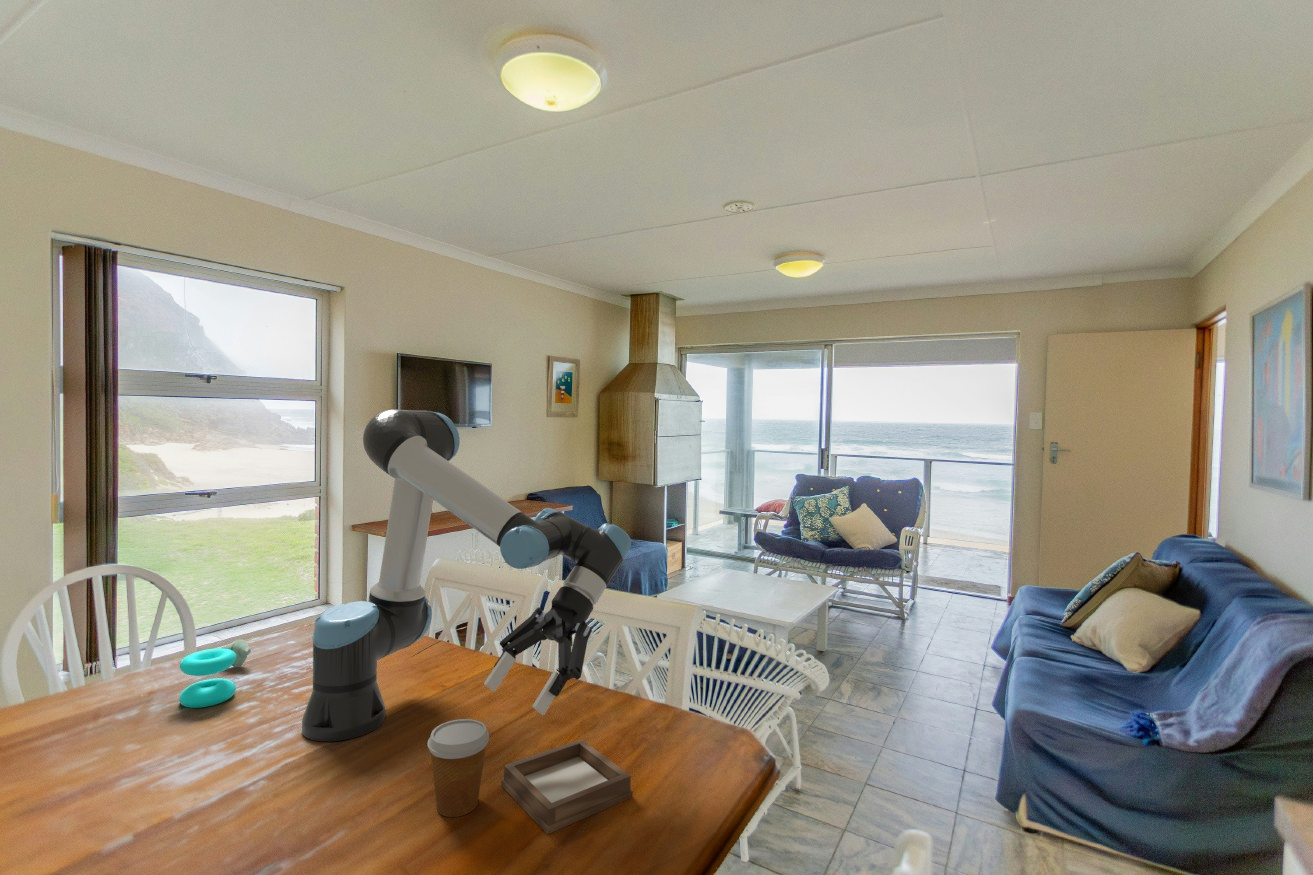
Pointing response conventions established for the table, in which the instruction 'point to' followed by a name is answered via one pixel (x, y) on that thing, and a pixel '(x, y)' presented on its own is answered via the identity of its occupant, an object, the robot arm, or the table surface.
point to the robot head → (239, 651)
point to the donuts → (208, 689)
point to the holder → (565, 784)
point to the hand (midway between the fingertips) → (512, 699)
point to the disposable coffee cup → (457, 764)
